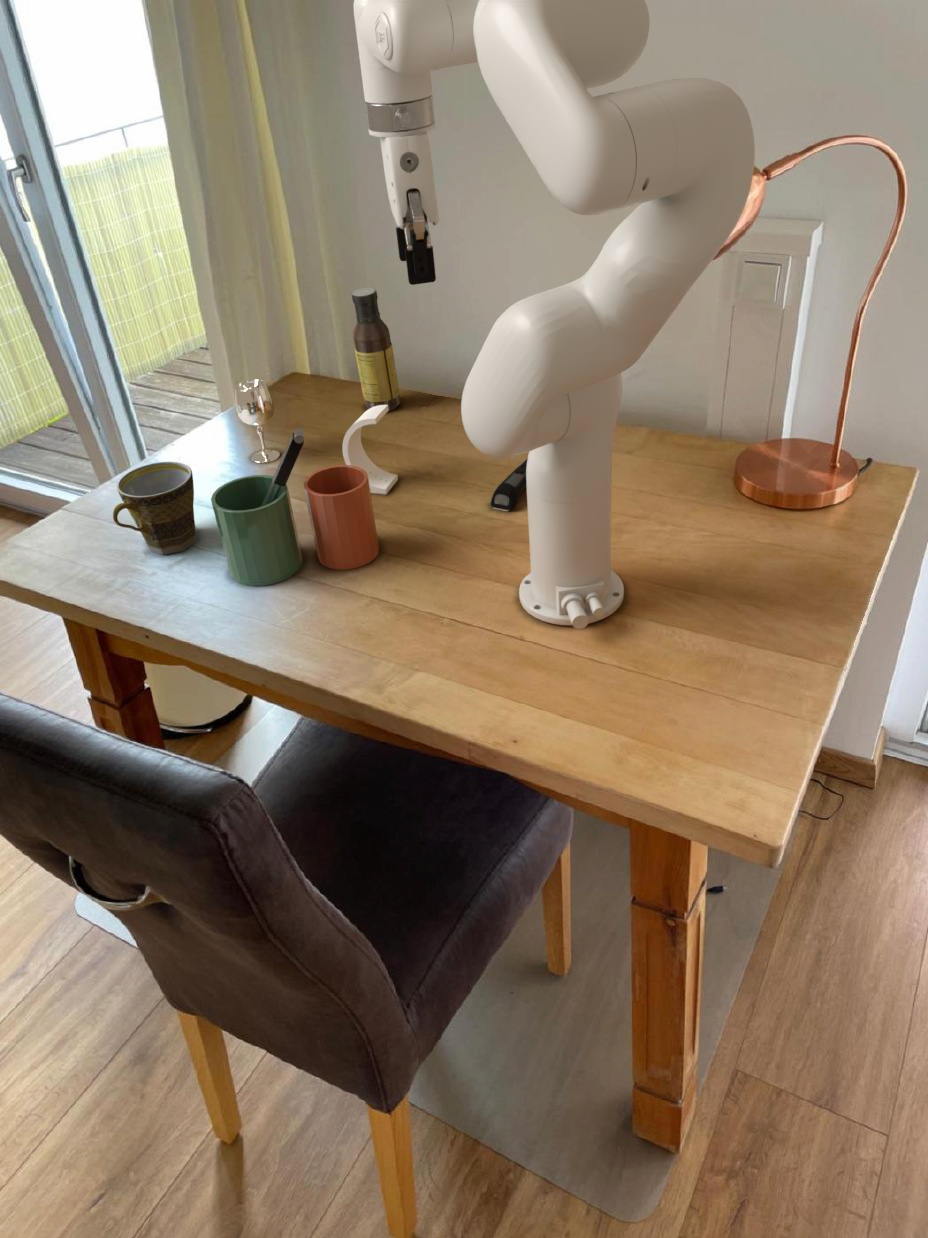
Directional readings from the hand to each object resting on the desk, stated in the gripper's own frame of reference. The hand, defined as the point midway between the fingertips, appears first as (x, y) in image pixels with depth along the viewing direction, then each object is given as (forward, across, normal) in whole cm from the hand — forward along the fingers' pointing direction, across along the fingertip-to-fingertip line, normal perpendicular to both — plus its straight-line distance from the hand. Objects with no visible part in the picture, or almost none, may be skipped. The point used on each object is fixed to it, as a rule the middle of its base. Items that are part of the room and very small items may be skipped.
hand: (417, 270), depth 122 cm
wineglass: (+34, +25, +25) cm, 49 cm away
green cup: (+33, -8, +25) cm, 42 cm away
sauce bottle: (+34, +38, +5) cm, 51 cm away
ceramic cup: (+34, +1, +39) cm, 51 cm away
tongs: (+33, -8, +23) cm, 41 cm away
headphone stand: (+34, +10, +9) cm, 36 cm away
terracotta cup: (+33, -8, +14) cm, 37 cm away
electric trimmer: (+34, +3, -12) cm, 36 cm away
